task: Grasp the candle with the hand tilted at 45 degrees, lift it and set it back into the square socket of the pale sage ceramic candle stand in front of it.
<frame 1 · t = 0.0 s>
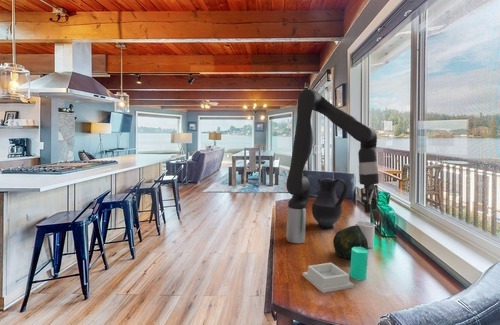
hand: (371, 210, 123), 22 cm above the table, tool pointing down, fingers open, 8 cm apart
candle stand: (327, 281, 106), on the table
pitcher: (328, 228, 172), on the table
candle: (357, 276, 111), on the table
squash: (349, 256, 130), on the table
mug: (363, 244, 146), on the table
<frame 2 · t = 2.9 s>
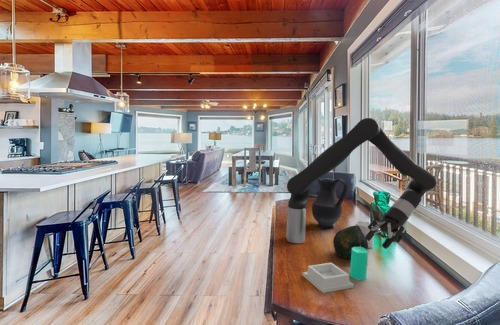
hand: (375, 243, 113), 12 cm above the table, tool tilted 45°, fingers open, 8 cm apart
nothing on the table moved.
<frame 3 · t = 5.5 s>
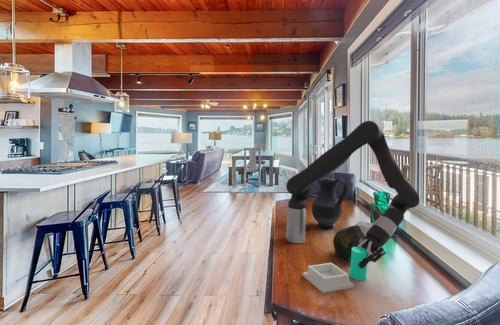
hand: (355, 263, 110), 5 cm above the table, tool tilted 45°, fingers closed on candle, 5 cm apart
candle: (357, 276, 111), on the table, touching gripper
everything else where it was.
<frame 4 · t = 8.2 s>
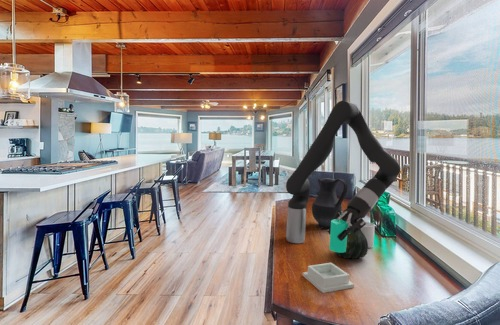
hand: (334, 236, 105), 17 cm above the table, tool tilted 45°, fingers closed on candle, 5 cm apart
candle: (337, 250, 107), point 11 cm above the table, touching gripper
everything else where it was.
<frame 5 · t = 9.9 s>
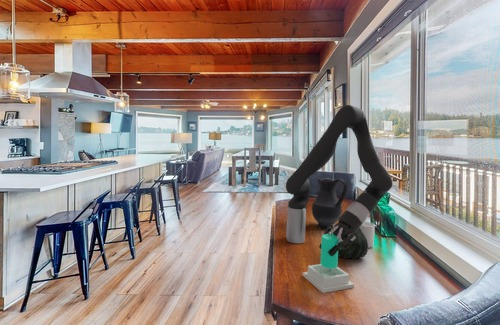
hand: (325, 251, 104), 11 cm above the table, tool tilted 45°, fingers closed on candle, 5 cm apart
candle: (328, 265, 106), point 6 cm above the table, touching gripper
everything else where it was.
when the fingers open (8 cm above the table, at t = 11.3 s): candle stays where it is, resting on candle stand.
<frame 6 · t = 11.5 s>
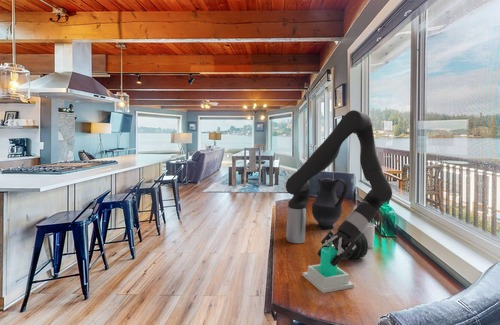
hand: (325, 260, 105), 8 cm above the table, tool tilted 45°, fingers open, 7 cm apart
candle: (327, 278, 106), point 1 cm above the table, touching candle stand
everything else where it was.
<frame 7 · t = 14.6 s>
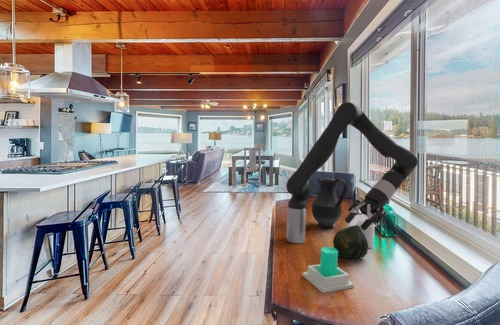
hand: (354, 225, 108), 20 cm above the table, tool tilted 45°, fingers open, 8 cm apart
nothing on the table moved.
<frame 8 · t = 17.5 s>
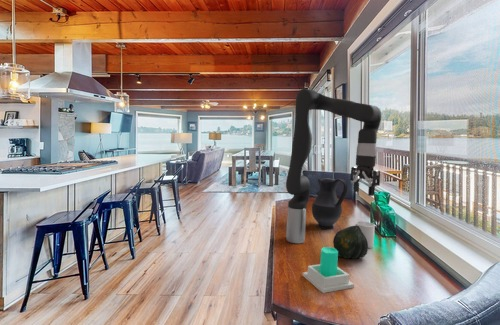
hand: (363, 193, 120), 30 cm above the table, tool pointing down, fingers open, 8 cm apart
nothing on the table moved.
at the end: candle 0.4 cm off-centre on the candle stand, point 1.0 cm above the candle stand's base; candle tilted 0°; the gripper is holding nothing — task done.
